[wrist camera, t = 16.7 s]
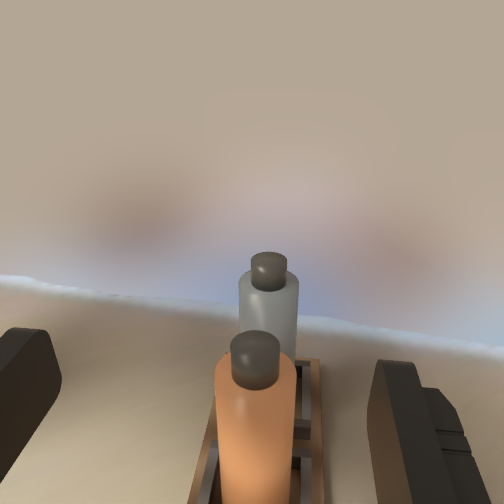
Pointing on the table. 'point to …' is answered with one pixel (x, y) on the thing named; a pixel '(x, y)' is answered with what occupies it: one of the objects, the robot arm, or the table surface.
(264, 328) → the grey bottle
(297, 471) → the wooden bottle rack
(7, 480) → the table surface
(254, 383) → the orange bottle
